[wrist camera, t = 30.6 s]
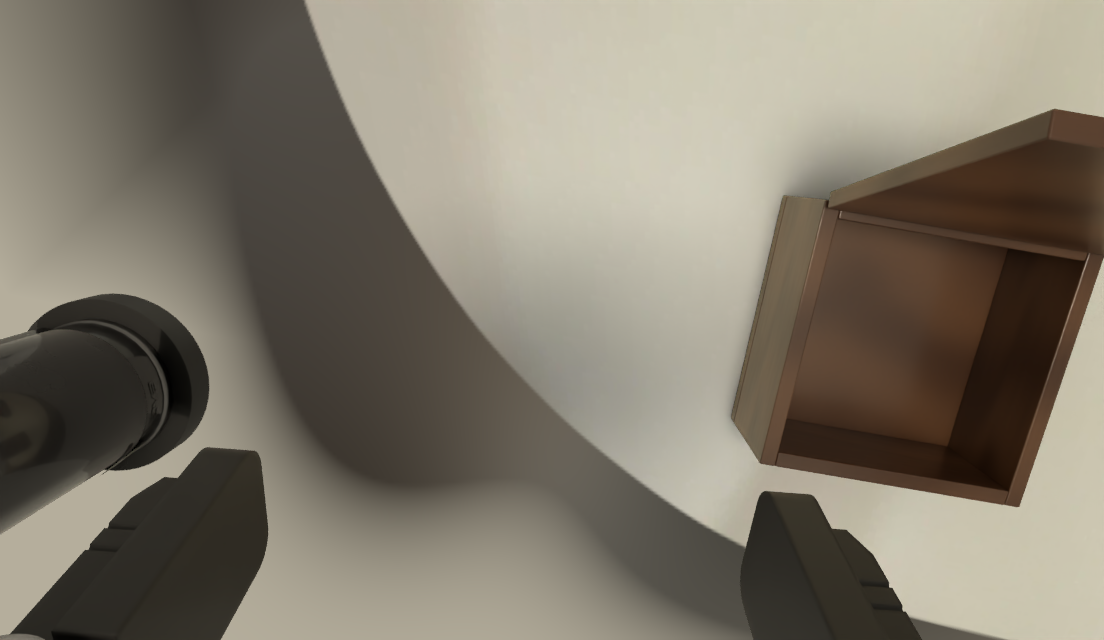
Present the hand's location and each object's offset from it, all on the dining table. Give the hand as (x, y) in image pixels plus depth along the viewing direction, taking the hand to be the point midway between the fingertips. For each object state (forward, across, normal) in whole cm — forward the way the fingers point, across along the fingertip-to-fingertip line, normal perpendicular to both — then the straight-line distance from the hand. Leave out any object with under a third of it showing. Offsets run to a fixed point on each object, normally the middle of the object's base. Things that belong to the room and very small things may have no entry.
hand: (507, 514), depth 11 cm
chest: (+28, -20, +8) cm, 35 cm away
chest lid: (+16, -20, -2) cm, 25 cm away
